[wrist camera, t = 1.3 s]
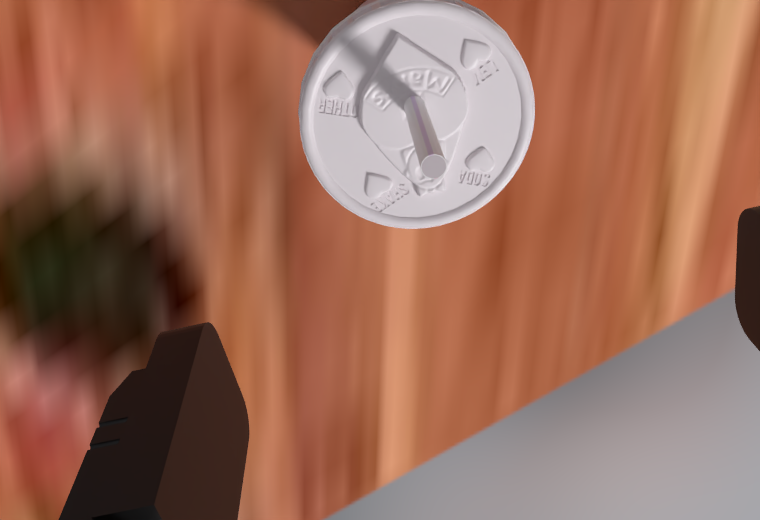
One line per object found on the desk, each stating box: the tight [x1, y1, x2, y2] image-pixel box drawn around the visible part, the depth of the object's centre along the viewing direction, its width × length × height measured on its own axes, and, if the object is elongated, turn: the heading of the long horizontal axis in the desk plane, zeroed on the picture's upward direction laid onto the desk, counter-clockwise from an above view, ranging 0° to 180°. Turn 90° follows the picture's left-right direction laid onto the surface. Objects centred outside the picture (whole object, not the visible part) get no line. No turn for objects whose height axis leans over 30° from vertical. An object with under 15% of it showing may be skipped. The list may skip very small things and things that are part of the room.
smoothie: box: [298, 0, 535, 229], centre depth 21 cm, size 6×6×14 cm
